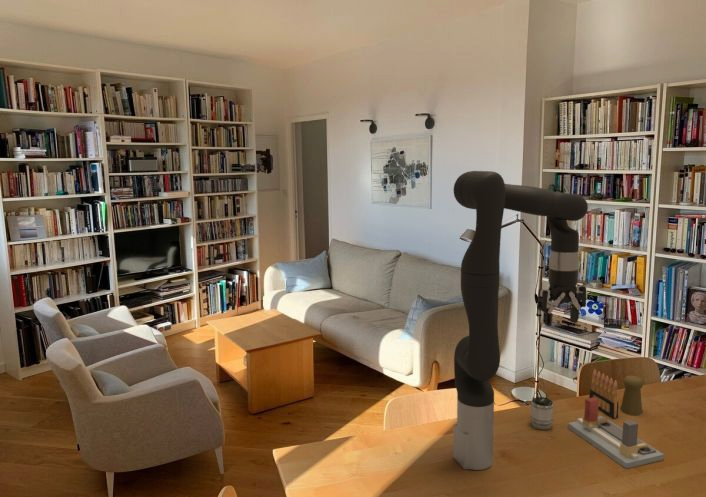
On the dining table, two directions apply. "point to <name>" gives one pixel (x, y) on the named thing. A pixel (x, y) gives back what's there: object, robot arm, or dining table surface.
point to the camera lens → (542, 413)
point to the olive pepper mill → (632, 396)
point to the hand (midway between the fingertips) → (560, 323)
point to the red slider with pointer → (592, 413)
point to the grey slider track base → (618, 442)
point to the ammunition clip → (605, 394)
